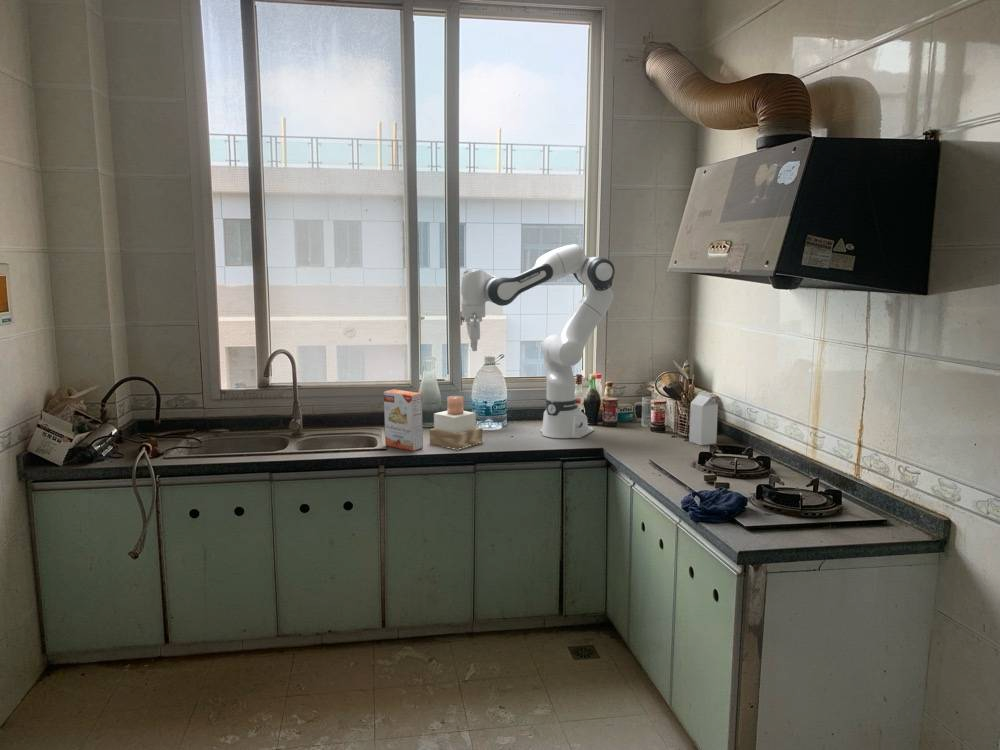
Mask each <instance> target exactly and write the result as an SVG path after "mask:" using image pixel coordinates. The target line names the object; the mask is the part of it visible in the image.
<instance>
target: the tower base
mask: <svg viewBox="0 0 1000 750" xmlns="http://www.w3.org/2000/svg"><path fill="white" fill-rule="evenodd" d="M479 442H482V443H483V428H482V427H477V426H476V429H472V430H468V431H464V432H459V433H455V434H454V433H449V432H445V431H440V430H436V429H434V428H430V429H429V445H431V444H434V445H433V446H436V445H439V446H438V447H440V446H444V447H443V448H445V447H450V448H455V449H459V448H463V447H466V446H469V445H473V444H476V443H479ZM476 445H477V444H476ZM473 446H474V445H473ZM466 448H467V447H466ZM463 449H464V448H463Z"/></svg>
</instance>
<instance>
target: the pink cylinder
mask: <svg viewBox="0 0 1000 750" xmlns="http://www.w3.org/2000/svg"><path fill="white" fill-rule="evenodd" d="M446 400H447V403H446V404H447V406H446V407H447V409H446V411H447V413H448V414H451V415H459V414H463V411H464V396H461V395H450V396H449V395H448V396H447V397H446Z"/></svg>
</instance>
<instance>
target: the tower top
mask: <svg viewBox="0 0 1000 750" xmlns="http://www.w3.org/2000/svg"><path fill="white" fill-rule="evenodd" d="M476 415H477V414H476V412H473V411H467V410H463V414H459V415H451V414H448V413H447V410H443V411H439V412H435V413H433V429H436V430H440V431H445V432H449V433H454V434H455V433H459V432H464V431H468V430H472V429H476V427H477V425H476V424H477V423H476V421H477V420H476V419H477V418H476V417H477V416H476Z"/></svg>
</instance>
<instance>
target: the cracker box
mask: <svg viewBox="0 0 1000 750" xmlns="http://www.w3.org/2000/svg"><path fill="white" fill-rule="evenodd" d="M422 394H423V393H421V392H416V391H415V392H414V391H408V390H401V389H388V390H385V391H383V402H384V403H383V404H384V405H383V409H384V435H385V436H384V439H385V446H387V447H391V448H395V447H396V448H395V449H399V450H404V449H405V450H406V451H409V450H410V451H409V452H416V451H419V450H421V449H423V448H424V441H423V440H424V438H423V437H424V436H423V435H424V434H423V431H424V430H423V395H422Z"/></svg>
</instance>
